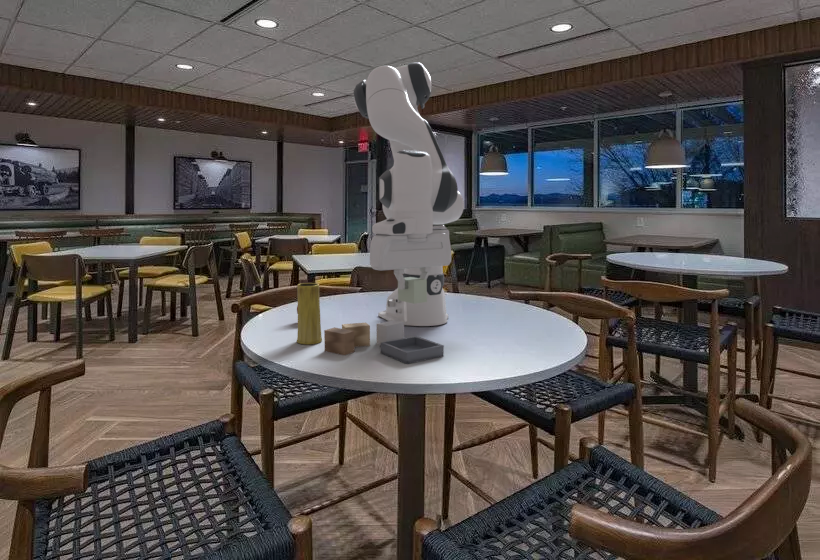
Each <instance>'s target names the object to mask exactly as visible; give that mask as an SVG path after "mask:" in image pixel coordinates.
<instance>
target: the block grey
mask: <svg viewBox="0 0 820 560" xmlns="http://www.w3.org/2000/svg"><path fill="white" fill-rule="evenodd" d="M402 338H405V325H404V322H401V321H396V320H392V321H388V320H386V321H383V322H379V323H376V344H377V345H380V342H385V341H391V340H397V339H402Z"/></svg>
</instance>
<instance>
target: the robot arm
mask: <svg viewBox="0 0 820 560" xmlns="http://www.w3.org/2000/svg"><path fill="white" fill-rule="evenodd" d="M431 93H432V78H431V75H430V73H429V71H428V70H427V68H426V67H425V66H424V64H422V63H421V62H418V61H417V62H416V61H415V62H408V63H407V64H406V65H401V66H396V67H394V66H390V65H380V66H377V67H375V68H374V69H372V70H371V71H370V73H369V74H368V76H367V78H366V79H363V80H361V81H360V82H358V83H357V84H356V85H355V87H354V89H353V101H354V102H353V103H354V105H355V107H356V109H357V111H358V112H359V113H360V115H361V116H362V117H363V118H365V119H367V120H368V121H369V123H370V125H371V126H370V127H371V128H372V129H373V131H374V132H375V133H376V134H377V135H379V136H380V137H382V138H383V139H386V140H389V145H390V149H391V154H392V157H393V165H392V167H391V168H389V169H386V170H385V171H384V172H383V173H382V174H381V175H380V176H379V177H378V201H379V202H380V203H381V204H382V212H383V214H384V216H385V218H386V219H384V220H382V221H378V222H376V223H374V224H373V225H372V227H371V228H372V229H371V230H372V233H373V234H374V235H373V236H372V238H371V241H370V246H369V265H370V267H371V269H373V270H375V271H391V270H392V271H393V275H394V276H395V278H396V280H397V288H395V290H393V291H392V293H390V294H389V295H388V296H387V298H386V306H385V308H386V309H385V310H381V311H379V312H378V313H377V314H378V317H380V318H382V319H384V320H386V321H392V320H396V321H401V322H404V326H413V327H414V326H415V327H430V326H431V327H432V326H440V325H444V324H447V322H448V319H449V314H448V313H447V305H446V304H447V302H446V293H445V290H444V288H443V287H444V286H445V274H444V273H443V269H444V268H443V267H444V266H445V267H446V266H450V264H451V263H452V248H451V247H452V245H451V241H450V230H449V229H448V228H447V227H446V225H445V224H451V223H453V222H456V221H458V220H459V219H460V218H461V216H462V214H463V213H464V207H465V205H464V204H465V203H464V198H463V196H462V194H461V192H459V189H458V188H459V187H458V181H457V179H456V177H455V175H454V174H453V172H452V170H451V169H450V168H449V166H448V164H447V162H446V160H445V158H444V155H443V152H442V150H441V148H440V145H439V143H438V141H437V139H436V136H435V134H434V131H433V129H432V127H431V126H430V124H429V122H428V121H427V120H426V119H424V118H423V117H422V116H421V115H420V112H419V110H418V109H419V108H418V107H419V105H420V108H421V110H423V109H424V108H425V104H426V103H427V102H428V100H429V99H430V97H431ZM405 277H414V278H421V279H427V302H422V303H416V304H413V303H409V302H404V301H399V300H398V288H399V289H402V290H403V289H408V281H405V279H404V278H405Z"/></svg>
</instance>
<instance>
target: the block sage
mask: <svg viewBox="0 0 820 560" xmlns="http://www.w3.org/2000/svg"><path fill="white" fill-rule="evenodd" d="M404 279H405V281H408V289H403V290H402V289H399V288H398V287H397V288H398V300H399V301H404V302H409V303H413V304H416V303H422V302H427V279H421V278H414V277H405V278H404Z"/></svg>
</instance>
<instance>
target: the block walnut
mask: <svg viewBox="0 0 820 560" xmlns="http://www.w3.org/2000/svg"><path fill="white" fill-rule="evenodd" d="M323 332H324V338H323V339H324V352H326V351H327V353H332V354H336V355H341V356H347V355H350V354H354V353H355V347H354V331H351V330H346V329H342V327H341V328H339V327H332V328H327V329H325V330H324V331H323Z"/></svg>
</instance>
